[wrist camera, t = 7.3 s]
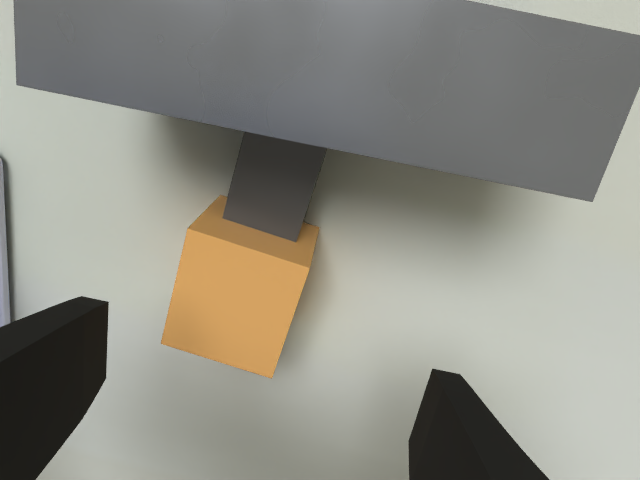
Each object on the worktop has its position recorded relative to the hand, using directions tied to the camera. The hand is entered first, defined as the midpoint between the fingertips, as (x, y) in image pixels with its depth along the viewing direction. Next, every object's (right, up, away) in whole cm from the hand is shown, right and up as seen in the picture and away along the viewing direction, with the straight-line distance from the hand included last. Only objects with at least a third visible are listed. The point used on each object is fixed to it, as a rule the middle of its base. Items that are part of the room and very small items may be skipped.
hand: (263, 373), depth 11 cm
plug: (0, +7, +5) cm, 8 cm away
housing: (+2, +9, +4) cm, 10 cm away
